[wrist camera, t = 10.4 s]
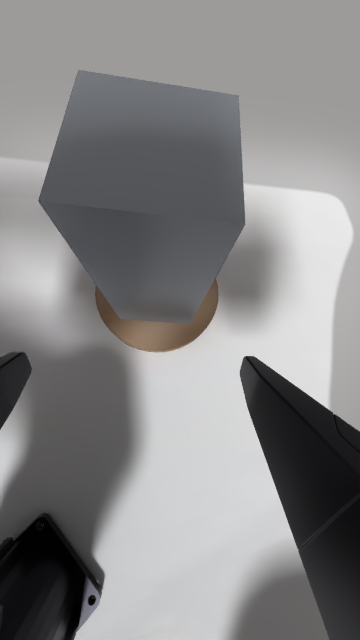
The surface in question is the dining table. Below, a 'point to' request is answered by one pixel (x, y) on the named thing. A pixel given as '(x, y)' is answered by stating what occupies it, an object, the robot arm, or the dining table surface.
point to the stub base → (158, 325)
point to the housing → (148, 191)
